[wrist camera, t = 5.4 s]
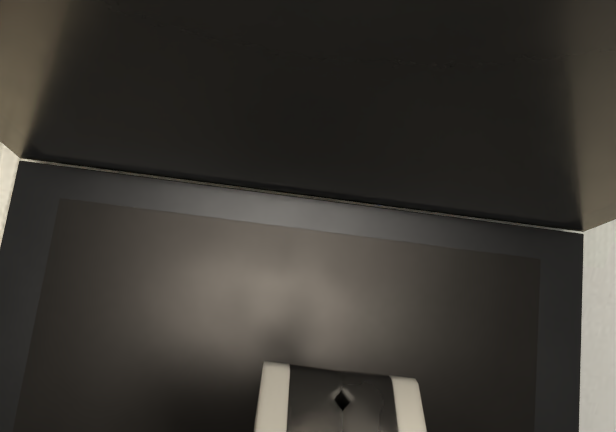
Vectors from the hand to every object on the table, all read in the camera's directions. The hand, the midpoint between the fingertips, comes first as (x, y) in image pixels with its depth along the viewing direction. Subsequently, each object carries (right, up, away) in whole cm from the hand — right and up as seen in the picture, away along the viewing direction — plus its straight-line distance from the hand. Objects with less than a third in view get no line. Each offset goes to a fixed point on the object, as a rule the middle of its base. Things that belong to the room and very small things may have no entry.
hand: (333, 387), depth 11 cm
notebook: (-2, -6, +18) cm, 19 cm away
